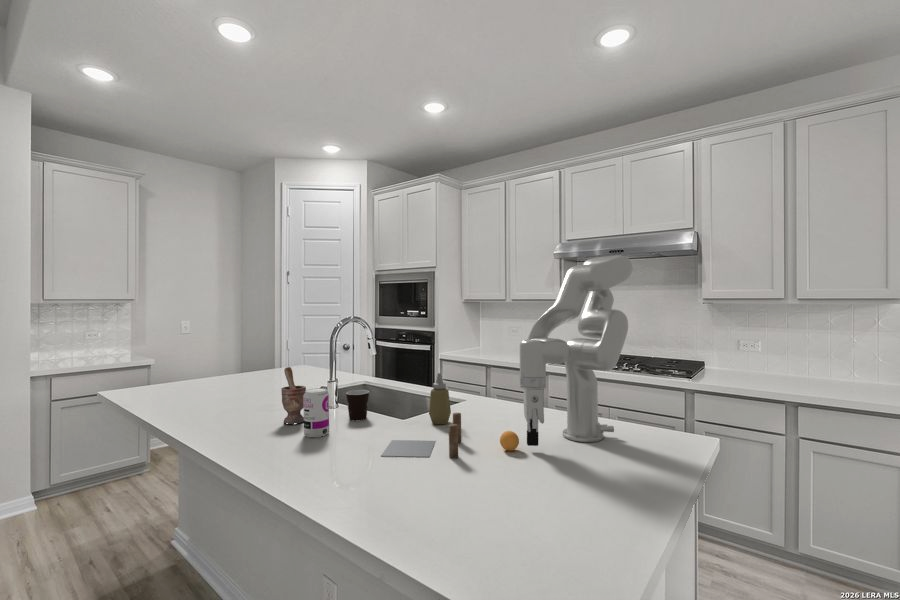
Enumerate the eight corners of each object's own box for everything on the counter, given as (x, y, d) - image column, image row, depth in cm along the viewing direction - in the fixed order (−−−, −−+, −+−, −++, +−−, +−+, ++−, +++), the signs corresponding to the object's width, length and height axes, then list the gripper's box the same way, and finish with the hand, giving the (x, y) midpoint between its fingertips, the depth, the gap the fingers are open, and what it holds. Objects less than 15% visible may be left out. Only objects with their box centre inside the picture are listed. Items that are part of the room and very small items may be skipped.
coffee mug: (364, 422, 161) (363, 395, 161) (342, 421, 163) (342, 394, 163) (375, 413, 172) (375, 388, 172) (355, 413, 174) (355, 388, 174)
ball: (518, 447, 131) (518, 428, 131) (519, 453, 125) (519, 434, 125) (499, 446, 132) (499, 428, 132) (500, 453, 126) (499, 434, 126)
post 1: (461, 441, 137) (461, 412, 137) (461, 443, 135) (460, 414, 135) (453, 440, 138) (453, 412, 138) (452, 443, 135) (452, 414, 135)
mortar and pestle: (271, 422, 162) (270, 369, 162) (291, 417, 170) (290, 366, 170) (291, 426, 156) (291, 371, 156) (311, 421, 164) (310, 368, 164)
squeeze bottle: (441, 427, 153) (441, 376, 153) (424, 423, 158) (423, 374, 158) (455, 421, 159) (454, 372, 159) (438, 418, 164) (437, 370, 164)
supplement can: (332, 431, 150) (332, 387, 150) (323, 438, 142) (322, 393, 142) (310, 430, 151) (309, 387, 151) (299, 438, 143) (299, 392, 143)
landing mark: (435, 441, 138) (435, 440, 138) (429, 457, 124) (429, 456, 124) (392, 440, 139) (392, 440, 139) (380, 456, 125) (380, 455, 125)
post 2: (458, 455, 125) (458, 424, 125) (458, 458, 122) (457, 426, 122) (449, 455, 125) (449, 423, 125) (448, 458, 122) (448, 426, 123)
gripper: (549, 387, 120) (549, 453, 120) (541, 378, 135) (541, 437, 135) (522, 386, 120) (522, 453, 120) (517, 377, 135) (517, 436, 135)
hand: (532, 444), depth 127 cm, fingers closed
